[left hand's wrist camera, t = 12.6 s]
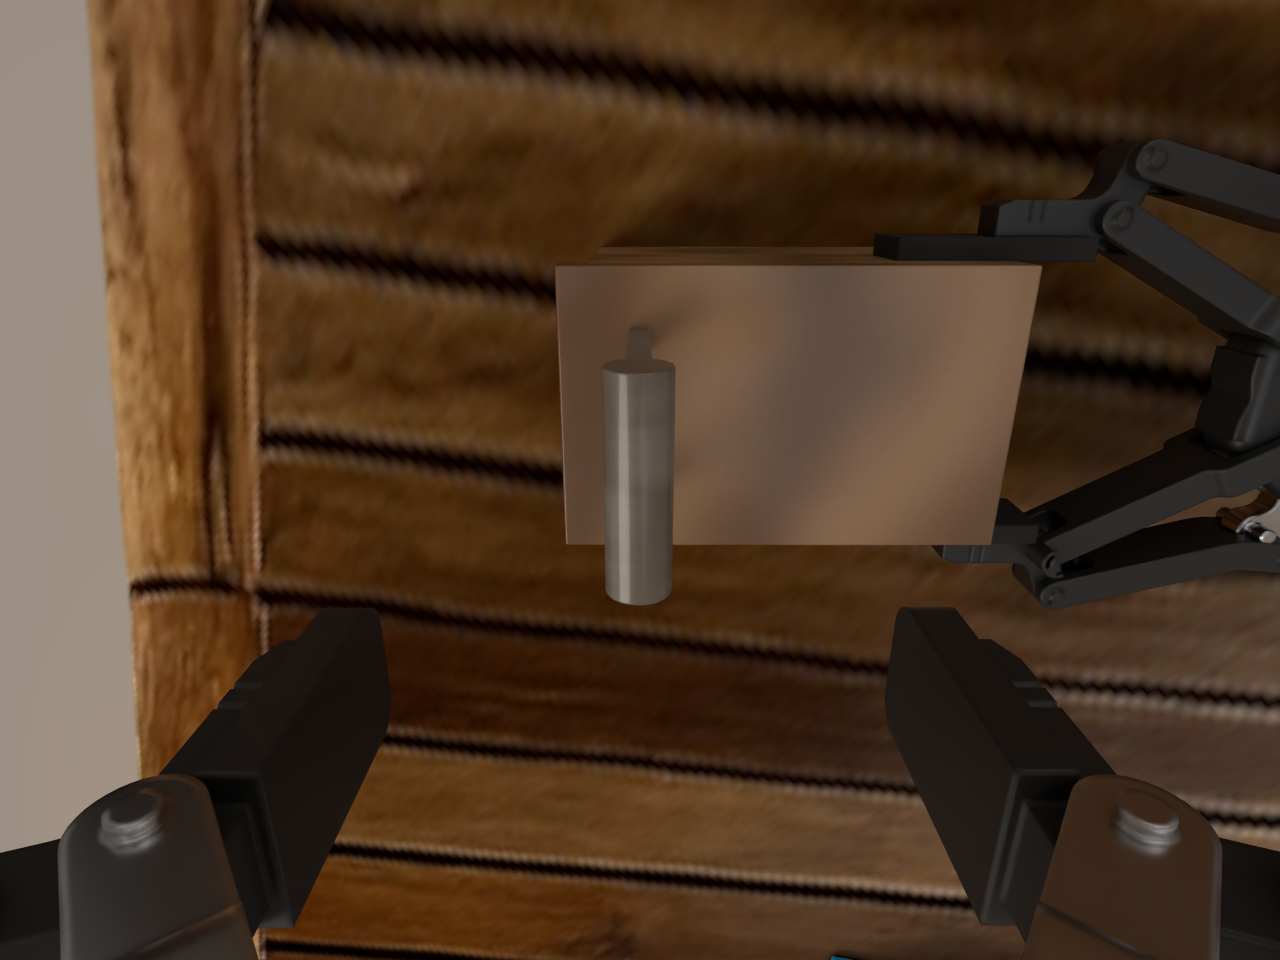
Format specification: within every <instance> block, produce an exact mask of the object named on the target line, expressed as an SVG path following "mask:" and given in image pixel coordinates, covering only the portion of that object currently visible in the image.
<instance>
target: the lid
mask: <svg viewBox="0 0 1280 960" xmlns="http://www.w3.org/2000/svg"><path fill="white" fill-rule="evenodd" d="M1041 273H1042V266H1041V265H1037V264H1031V263H559V264H557V265H556V266H555V284H556V310H557V335H558V361H559V386H560V412H561V438H562V463H563V489H564V514H565V540H566V544H567V545H605V586H606V592H607V594H608V595H609V596H610V597H611V598H612V599H614V600H616V601H618V602H620V603H624V604H629V605H649V604H654V603H657V602H660V601H662V600H664V599H665V598H667V597H668V596H669V595H670V593H671V591H672V561H673V545H991V542H992V536H993V531H994V526H995V520H996V515H997V509H998V504H999V499H1000V493H1001V488H1002V483H1003V477H1004V472H1005V466H1006V461H1007V456H1008V450H1009V445H1010V440H1011V434H1012V429H1013V423H1014V418H1015V413H1016V407H1017V402H1018V397H1019V391H1020V386H1021V380H1022V375H1023V370H1024V364H1025V359H1026V354H1027V348H1028V343H1029V337H1030V332H1031V327H1032V321H1033V316H1034V311H1035V305H1036V300H1037V294H1038V289H1039V284H1040V278H1041Z"/></svg>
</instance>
